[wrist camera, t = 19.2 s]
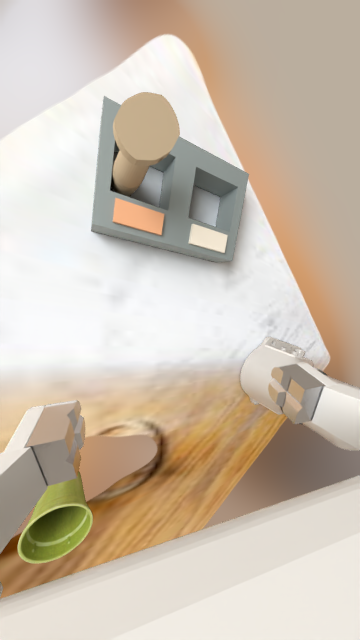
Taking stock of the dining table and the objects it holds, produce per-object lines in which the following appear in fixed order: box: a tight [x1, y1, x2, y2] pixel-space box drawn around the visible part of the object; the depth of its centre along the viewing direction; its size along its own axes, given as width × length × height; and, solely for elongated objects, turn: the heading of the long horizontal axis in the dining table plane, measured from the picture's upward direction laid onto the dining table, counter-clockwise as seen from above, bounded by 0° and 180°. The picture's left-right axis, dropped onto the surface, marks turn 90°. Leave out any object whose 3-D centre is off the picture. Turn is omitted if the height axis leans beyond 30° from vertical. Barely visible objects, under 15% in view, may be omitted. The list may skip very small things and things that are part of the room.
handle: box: [111, 92, 180, 197], centre depth 25 cm, size 5×6×15 cm
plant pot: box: [18, 471, 93, 563], centre depth 34 cm, size 9×9×9 cm
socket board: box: [91, 96, 249, 262], centre depth 33 cm, size 24×15×6 cm, turn 80°
